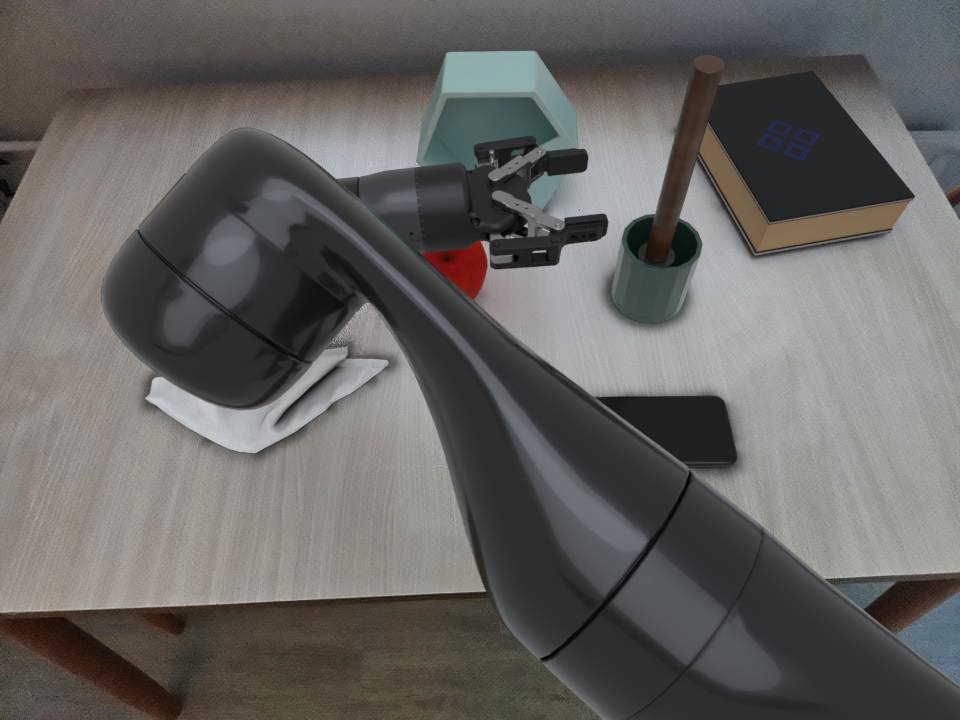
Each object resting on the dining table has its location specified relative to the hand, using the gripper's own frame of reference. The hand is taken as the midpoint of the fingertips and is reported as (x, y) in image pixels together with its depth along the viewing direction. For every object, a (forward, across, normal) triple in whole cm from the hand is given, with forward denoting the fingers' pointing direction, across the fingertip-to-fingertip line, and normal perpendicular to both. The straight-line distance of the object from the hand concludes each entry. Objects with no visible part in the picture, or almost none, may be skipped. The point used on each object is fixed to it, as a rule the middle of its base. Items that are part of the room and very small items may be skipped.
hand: (596, 191), depth 58 cm
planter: (-6, +22, +19) cm, 30 cm away
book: (+30, +19, +19) cm, 40 cm away
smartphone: (+4, -15, +19) cm, 25 cm away
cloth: (-36, -5, +19) cm, 41 cm away
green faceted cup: (+8, +2, +19) cm, 21 cm away
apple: (-14, +6, +19) cm, 24 cm away
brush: (+8, +2, +18) cm, 20 cm away
